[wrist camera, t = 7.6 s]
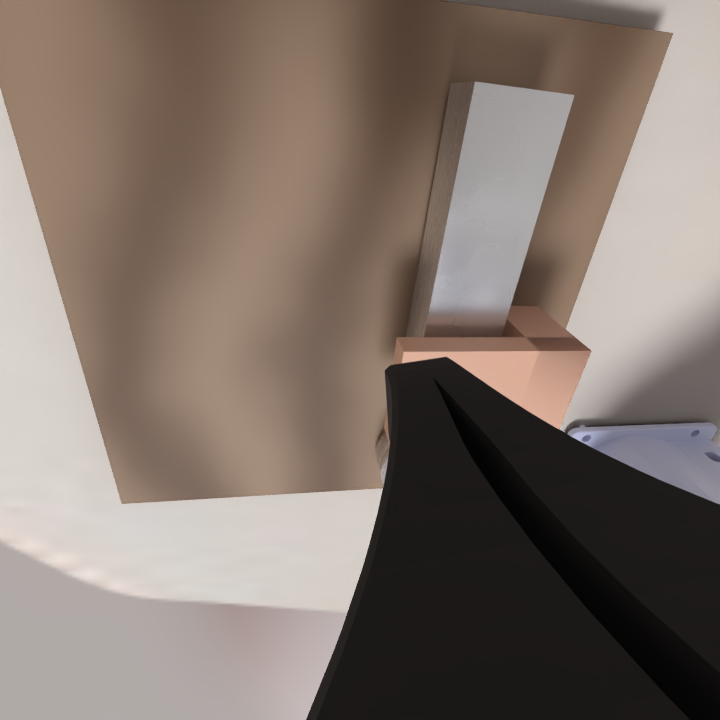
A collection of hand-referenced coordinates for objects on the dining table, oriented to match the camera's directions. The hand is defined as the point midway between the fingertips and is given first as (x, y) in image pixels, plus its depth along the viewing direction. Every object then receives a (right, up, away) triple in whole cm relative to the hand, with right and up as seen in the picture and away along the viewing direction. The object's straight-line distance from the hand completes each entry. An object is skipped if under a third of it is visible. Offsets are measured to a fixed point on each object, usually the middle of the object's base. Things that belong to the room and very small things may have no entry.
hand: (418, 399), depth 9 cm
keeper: (+3, -1, +11) cm, 11 cm away
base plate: (-2, +3, +9) cm, 10 cm away
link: (+2, +2, +9) cm, 9 cm away
